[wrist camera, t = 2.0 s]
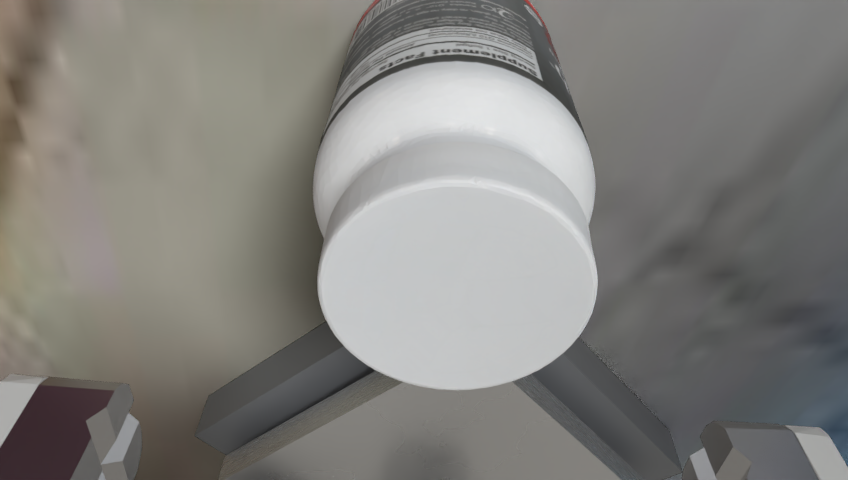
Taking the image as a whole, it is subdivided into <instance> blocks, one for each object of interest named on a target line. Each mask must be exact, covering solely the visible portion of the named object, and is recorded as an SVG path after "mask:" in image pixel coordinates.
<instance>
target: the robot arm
mask: <svg viewBox="0 0 848 480" xmlns="http://www.w3.org/2000/svg"><path fill="white" fill-rule="evenodd" d="M133 401H134V399H133V396H132V393H131V389H130V386H129V384H123V383H113V382H102V381H91V380H80V379H69V378H58V377H45V376H32V375H19V374H10V375H9V376H7V377H6V378H5V379H3V380H2V381H0V480H134V478H135V475H136V473H137V470H138V466H139V461H140V456H141V451H142V432H141V427H140V423H139V421H138V420H137V419H136V418H134V417H133V416H132V415H131V414H129V413H128V412H129V410H130V408H131V406H132V403H133ZM700 438H701V440H702V443H703V446H704V448H702V449H701V450H699V451H697V452H695V453H694V454H692V455H690V456H689V458H688V461H687V463H686V465H685V467H684V469H683V474H682V480H848V467H847V465H846V463H845V462H844V460H843V458H842V456H841V455H840V453H839V451H838V450H837V448H836V446H835V445H834V443H833V441H832V440H831V438H830V436H829V435H828V434H827V433H826V432H825V431H823V430H822V429H821V428H820V427H805V426H790V425H779V424H768V423H749V422H729V421H713V422H711V423H710V424H708V425H706V427H705V429H704V430H703V432H702V434H701V436H700Z"/></svg>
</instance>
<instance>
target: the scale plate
mask: <svg viewBox="0 0 848 480" xmlns="http://www.w3.org/2000/svg"><path fill="white" fill-rule="evenodd" d="M218 480H645V479H644V478H643V477H642V476H641V475H640V474H639V473H638V472H636V471H635V470H634V469H633V468H632V467H631V466H630V465H629V464H628V463H627V462H626V461H625V460H624V459H622V458H621V457H620V456H619V455H618V454H617V453H616V452H615V451H614V450H613V449H612V448H611V447H610V446H608V445H607V444H606V443H605V442H604V441H603V440H602V439H601V438H600V437H599V436H598V435H597V434H596V433H594V432H593V431H592V430H591V429H590V428H589V427H588V426H587V425H586V424H585V423H584V422H583V421H581V420H580V419H579V418H578V417H577V416H576V415H575V414H574V413H573V412H572V411H571V410H570V409H569V408H567V407H566V406H565V405H564V404H563V403H562V402H561V401H560V400H559V399H558V398H557V397H556V396H555V395H553V394H552V393H551V392H550V391H549V390H548V389H547V388H546V387H545V386H544V385H543V384H542V383H540V382H539V381H538V380H537V379H536V378H535V377H534V376H533V375H532V374H530V375H527V376H525V377H522V378H520V379H518V380H515V381H512V382H508V383H504V384H501V385H497V386H492V387H488V388H480V389H473V390H440V389H433V388H427V387H420V386H416V385H412V384H409V383H405V382H402V381H399V380H396V379H394V378H391V377H389V376H386V375H384V374H382V373H380V372H378V371H374V372H372V373H371V374H369V375H367V376H365V377H364V378H362V379H360V380H358V381H357V382H355V383H353V384H351V385H349V386H348V387H346V388H344V389H342V390H341V391H339V392H337V393H335V394H334V395H332V396H330V397H328V398H326V399H325V400H323V401H321V402H319V403H318V404H316V405H314V406H312V407H311V408H309V409H307V410H305V411H304V412H302V413H300V414H298V415H296V416H295V417H293V418H291V419H289V420H288V421H286V422H284V423H282V424H281V425H279V426H277V427H275V428H274V429H272V430H270V431H268V432H266V433H265V434H263V435H261V436H259V437H258V438H256V439H254V440H252V441H251V442H249V443H247V444H245V445H243V446H242V447H240V448H238V449H236V450H235V451H233V452H231V453H229V454H228V455H226V456H225V458H224V461H223V464H222V467H221V471H220V474H219V477H218Z"/></svg>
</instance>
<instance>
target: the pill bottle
mask: <svg viewBox="0 0 848 480" xmlns="http://www.w3.org/2000/svg"><path fill="white" fill-rule="evenodd" d="M594 199H595V172H594V167H593V161H592V157H591V153H590V149H589V145H588V142H587V139H586V136H585V133H584V131H583V128H582V125H581V122H580V120H579V117H578V114H577V111H576V109H575V106H574V103H573V100H572V97H571V94H570V92H569V89H568V86H567V83H566V80H565V78H564V75H563V72H562V69H561V66H560V63H559V60H558V57H557V54H556V52H555V49H554V47H553V44H552V41H551V38H550V35H549V33H548V30H547V28H546V26H545V24H544V22H543V20H542V19H541V17H540V15H539V14H538V12H537V11H536V9H535V8H534V6H533V5H532V4H531V3H530V2H529V0H374V2H373V3H372V4H371V5H370V6H369V8H368V9H367V10H366V12H365V13H364V15H363V17H362V18H361V20H360V22H359V23H358V25H357V28H356V30H355V32H354V34H353V37H352V40H351V43H350V46H349V50H348V53H347V56H346V60H345V63H344V66H343V70H342V73H341V77H340V80H339V83H338V87H337V90H336V94H335V97H334V100H333V104H332V107H331V111H330V114H329V117H328V120H327V123H326V126H325V130H324V132H323V135H322V138H321V142H320V146H319V150H318V154H317V159H316V164H315V170H314V177H313V202H314V209H315V214H316V218H317V222H318V226H319V228H320V231H321V233H322V236H323V238H324V242H323V247H322V251H321V256H320V261H319V267H318V275H317V291H318V297H319V302H320V306H321V309H322V312H323V315H324V317H325V320H326V321H327V323H328V325H329V327H330V329H331V330H332V332H333V333H334V335H335V336H336V337H337V339H338V340H339V341H340V342H341V343H342V344H343V346H344V347H345V348H346V349H347V350H348V351H349V352H350V353H352V354H353V355H354V356H355V357H357V358H358V359H359V360H360V361H362V362H363V363H365V364H366V365H368V366H369V367H371V368H373V369H374V370H376V371H378V372H380V373H382V374H384V375H386V376H389V377H391V378H394V379H396V380H399V381H402V382H405V383H409V384H412V385H416V386H420V387H427V388H433V389H440V390H473V389H480V388H488V387H492V386H497V385H501V384H504V383H508V382H512V381H515V380H518V379H520V378H522V377H525V376H527V375H530V374H532V373H534V372H536V371H538V370H540V369H541V368H543V367H544V366H546V365H548V364H550V363H551V362H552V361H554V360H555V359H556V358H558V357H559V356H560V355H561V354H563V353H564V352H565V351H566V350H567V349H568V348H569V347H570V346H571V345H572V344H573V343H574V341H575V340H576V339H577V338H578V337H579V336H580V334H581V333H582V331H583V330H584V328H585V326H586V324H587V323H588V321H589V319H590V316H591V314H592V312H593V308H594V304H595V301H596V296H597V288H598V275H597V269H596V263H595V258H594V254H593V249H592V244H591V238H590V232H589V227H588V226H589V223H590V219H591V216H592V211H593V206H594Z"/></svg>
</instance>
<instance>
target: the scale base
mask: <svg viewBox="0 0 848 480" xmlns="http://www.w3.org/2000/svg"><path fill="white" fill-rule="evenodd" d="M374 371H376V370H374V369H373V368H371V367H369V366H368V365H366V364H365V363H363V362H362V361H360V360H359V359H358V358H357V357H355V356H354V355H353V354H352V353H350V352H349V351H348V350H347V349H346V348H345V347H344V346H343V344H342V343H341V342H340V341H339V340H338V339H337V337H336V336H335V335H334V333H333V332H332V330H331V329H330V327H329V325H328V323H327V321H326V322H325V323H323V324H322V325H320V326H318V327H317V328H315V329H314V330H312V331H311V332H309V333H307V334H306V335H304V336H303V337H301V338H300V339H298V340H296V341H295V342H293V343H292V344H290V345H288V346H287V347H285V348H284V349H282V350H281V351H279V352H277V353H276V354H274V355H273V356H271V357H269V358H268V359H266V360H265V361H263V362H262V363H260V364H258V365H257V366H255V367H254V368H252V369H251V370H249V371H247V372H246V373H244V374H243V375H241V376H239V377H238V378H236V379H235V380H233V381H232V382H230V383H228V384H227V385H225V386H224V387H222V388H220V389H219V390H217V391H216V392H214V393H213V394H211V395H209V396H208V399H207V402H206V405H205V408H204V410H203V413H202V416H201V419H200V422H199V425H198V427H197V430H196V433H195V437H197V438H199V439H200V440H202V441H204V442H205V443H207V444H209V445H210V446H212V447H214V448H215V449H217V450H218V451H220V452H222V453H223V454H225V455H228V454H229V453H231V452H233V451H235V450H236V449H238V448H240V447H242V446H243V445H245V444H247V443H249V442H251V441H252V440H254V439H256V438H258V437H259V436H261V435H263V434H265V433H266V432H268V431H270V430H272V429H274V428H275V427H277V426H279V425H281V424H282V423H284V422H286V421H288V420H289V419H291V418H293V417H295V416H296V415H298V414H300V413H302V412H304V411H305V410H307V409H309V408H311V407H312V406H314V405H316V404H318V403H319V402H321V401H323V400H325V399H326V398H328V397H330V396H332V395H334V394H335V393H337V392H339V391H341V390H342V389H344V388H346V387H348V386H349V385H351V384H353V383H355V382H357V381H358V380H360V379H362V378H364V377H365V376H367V375H369V374H371V373H372V372H374ZM532 375H533V376H534V377H535V378H536V379H537V380H538V381H539V382H540V383H542V384H543V385H544V386H545V387H546V388H547V389H548V390H549V391H550V392H551V393H552V394H553V395H555V396H556V397H557V398H558V399H559V400H560V401H561V402H562V403H563V404H564V405H565V406H566V407H567V408H569V409H570V410H571V411H572V412H573V413H574V414H575V415H576V416H577V417H578V418H579V419H580V420H581V421H583V422H584V423H585V424H586V425H587V426H588V427H589V428H590V429H591V430H592V431H593V432H594V433H596V434H597V435H598V436H599V437H600V438H601V439H602V440H603V441H604V442H605V443H606V444H607V445H608V446H610V447H611V448H612V449H613V450H614V451H615V452H616V453H617V454H618V455H619V456H620V457H621V458H622V459H624V460H625V461H626V462H627V463H628V464H629V465H630V466H631V467H632V468H633V469H634V470H635V471H636V472H638V473H639V474H640V475H641V476H642V477H643V478H644V479H645V480H664V479H667V478H669V477H672V476H674V475H677V474H680V473H682V472H683V471H682V468H681V465H680V462H679V459H678V456H677V453H676V449H675V446H674V443H673V440H672V437H671V434H670V431H669V430H668V429H667V428H666V427H665V426H664V425H663V424H662V423H661V422H660V421H659V420H658V419H657V418H656V417H655V416H654V415H653V414H652V413H651V412H650V411H649V409H648V408H647V407H646V406H645V405H644V404H643V403H642V402H641V401H640V400H639V399H638V398H637V397H636V396H635V395H634V394H633V393H632V392H631V391H630V390H629V389H628V388H627V387H626V386H625V385H624V384H623V383H622V382H621V381H620V380H619V379H618V378H617V377H616V375H615V374H614V373H613V372H612V371H611V370H610V369H609V368H608V367H607V366H606V365H605V364H604V363H603V362H602V361H601V360H600V359H599V358H598V357H597V356H596V355H595V354H594V353H593V352H592V351H591V350H590V349H589V348H588V347H587V346H586V345H585V344H584V343H583V341H582V340H581V339H580V338H579V337H578V338H577V339H576V340H575V341H574V343H573V344H572V345H571V346H570V347H569V348H568V349H567V350H566V351H565V352H564V353H563V354H561V355H560V356H559V357H558V358H556V359H555V360H554V361H552V362H551V363H550V364H548V365H546V366H544V367H543V368H541V369H540V370H538V371H536V372H534V373H532Z"/></svg>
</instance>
